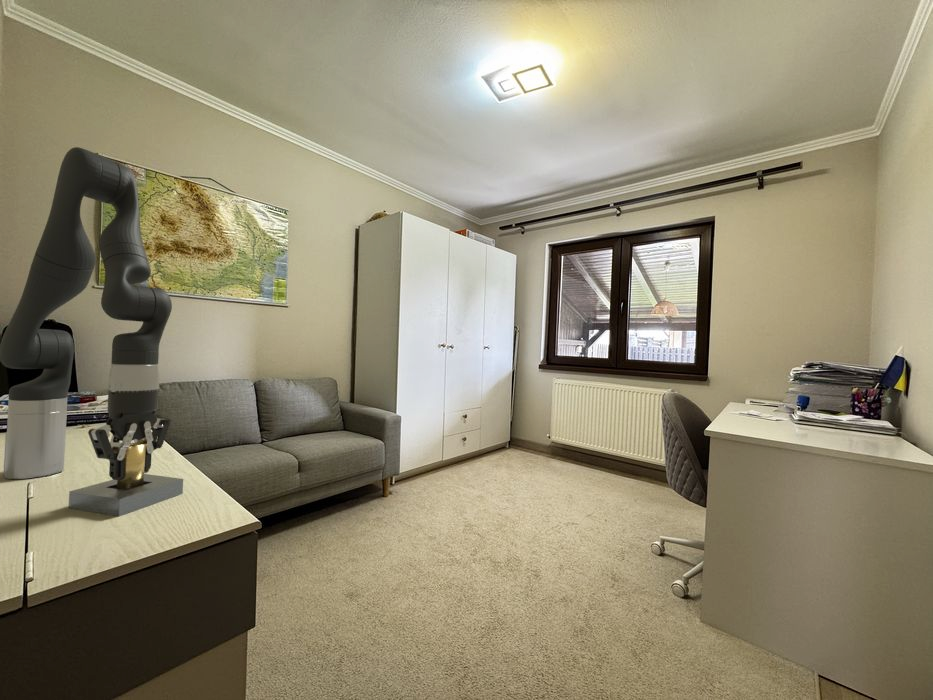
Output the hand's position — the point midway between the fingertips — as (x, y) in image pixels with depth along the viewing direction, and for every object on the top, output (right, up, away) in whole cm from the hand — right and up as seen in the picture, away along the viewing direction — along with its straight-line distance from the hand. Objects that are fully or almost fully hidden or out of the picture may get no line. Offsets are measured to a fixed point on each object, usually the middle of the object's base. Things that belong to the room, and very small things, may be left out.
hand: (130, 475), depth 76 cm
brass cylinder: (0, -2, 0) cm, 2 cm away
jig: (0, -5, 0) cm, 5 cm away
